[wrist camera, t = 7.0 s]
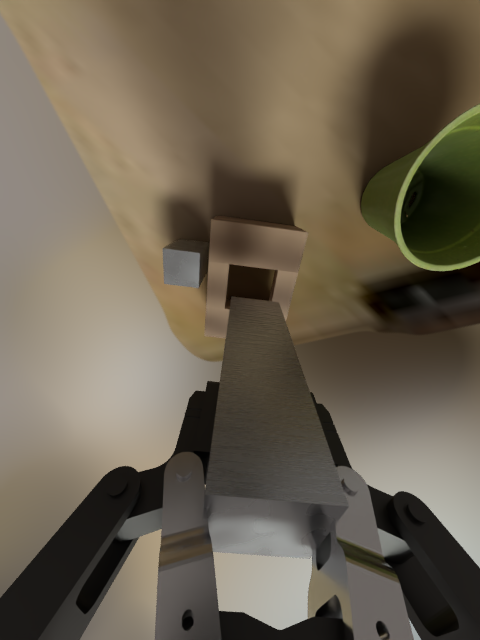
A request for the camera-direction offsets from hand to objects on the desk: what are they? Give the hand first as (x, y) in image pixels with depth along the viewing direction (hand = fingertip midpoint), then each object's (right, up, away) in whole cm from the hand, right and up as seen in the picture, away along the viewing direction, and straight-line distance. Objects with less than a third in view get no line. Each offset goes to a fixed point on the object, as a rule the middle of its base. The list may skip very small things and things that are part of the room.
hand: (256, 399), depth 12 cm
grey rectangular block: (-7, +13, +19) cm, 24 cm away
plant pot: (+18, +19, +16) cm, 31 cm away
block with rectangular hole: (0, +11, +20) cm, 23 cm away
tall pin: (0, +4, +8) cm, 9 cm away
